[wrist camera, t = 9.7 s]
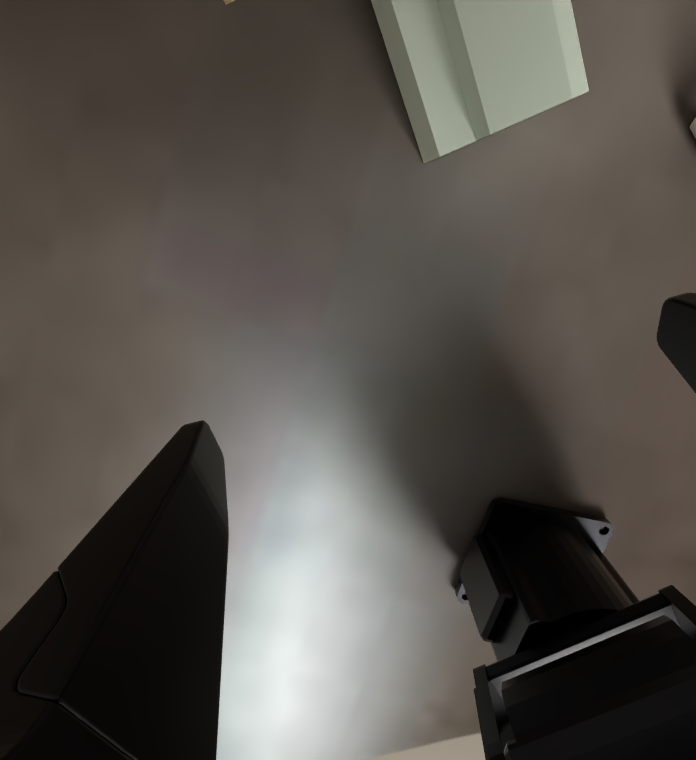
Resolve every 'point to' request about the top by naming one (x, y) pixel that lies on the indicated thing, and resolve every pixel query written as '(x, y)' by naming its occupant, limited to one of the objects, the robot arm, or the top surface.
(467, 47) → the ridge
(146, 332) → the top surface
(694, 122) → the wrench
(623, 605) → the robot arm
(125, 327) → the top surface
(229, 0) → the rubber stamp
